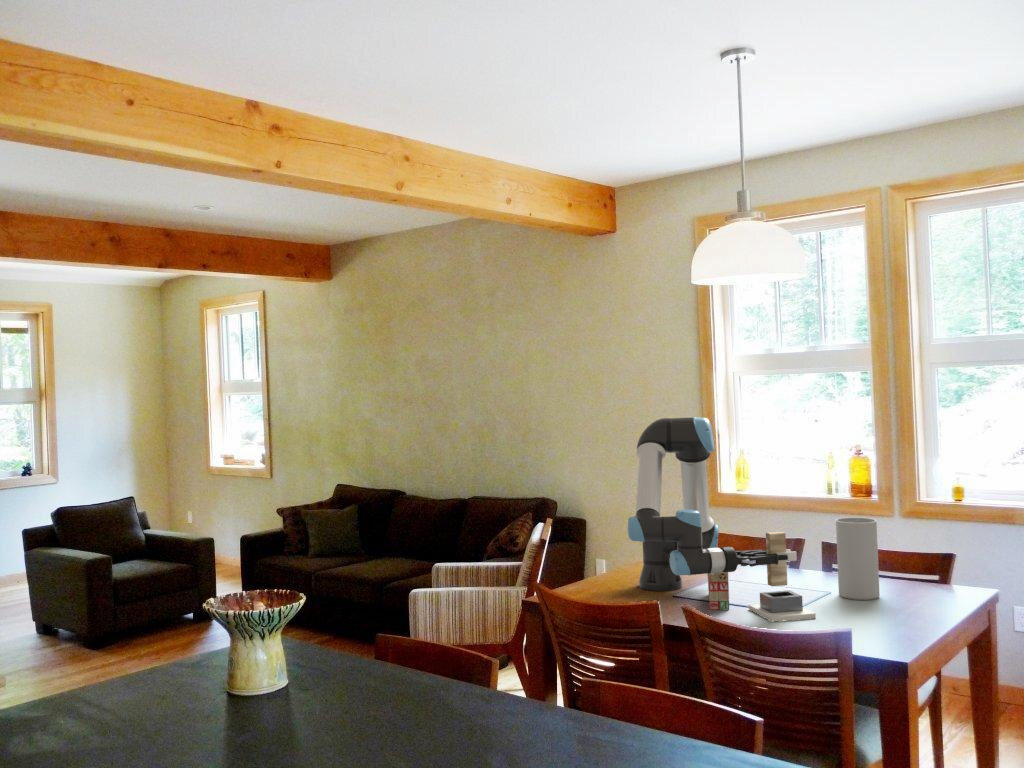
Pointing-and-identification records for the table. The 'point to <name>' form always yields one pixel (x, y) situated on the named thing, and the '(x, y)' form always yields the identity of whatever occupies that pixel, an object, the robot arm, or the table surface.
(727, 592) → the stack of blocks
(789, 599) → the grey rectangular socket
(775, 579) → the ash slat
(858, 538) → the cylinder vase
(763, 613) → the base board
